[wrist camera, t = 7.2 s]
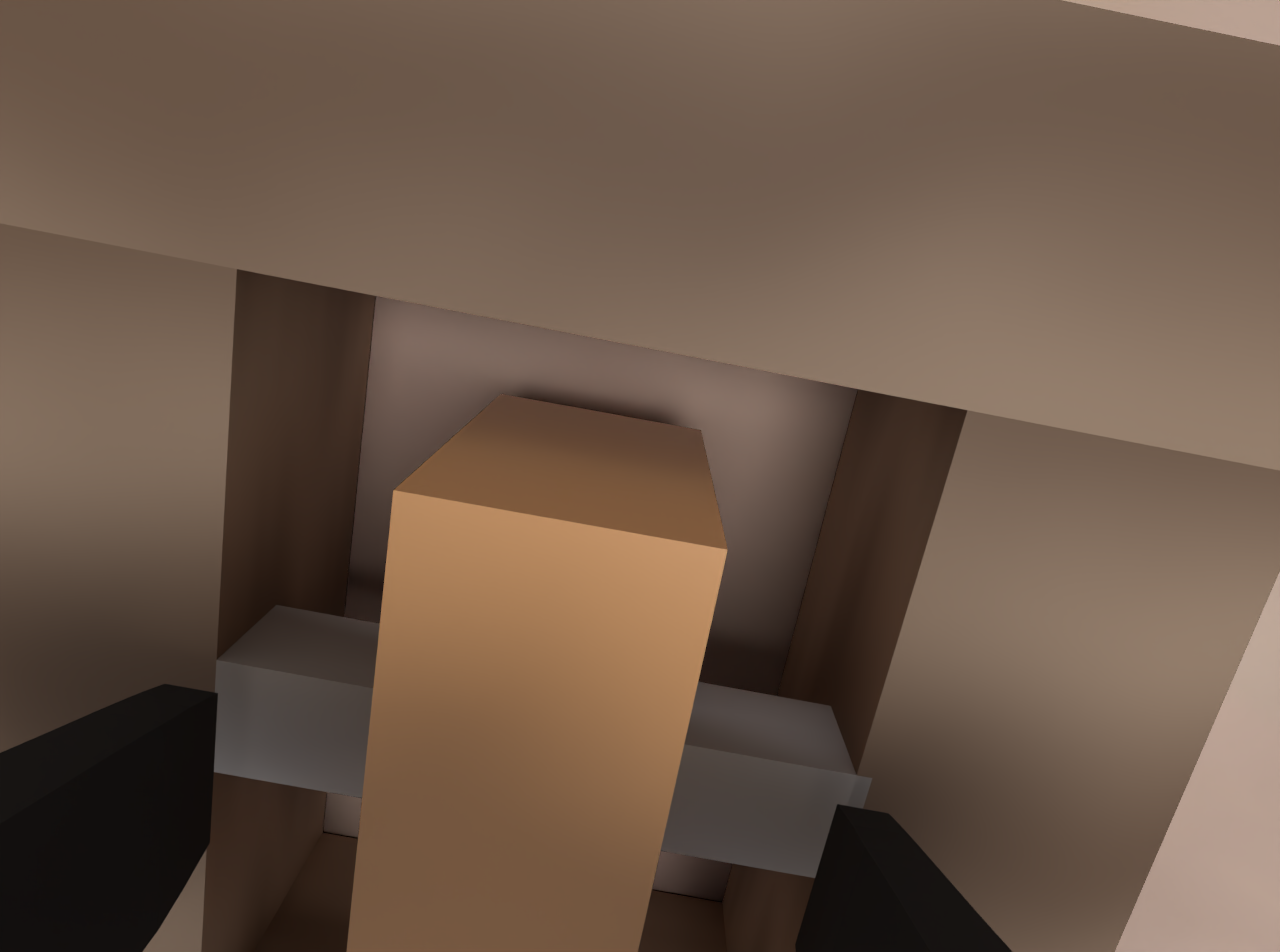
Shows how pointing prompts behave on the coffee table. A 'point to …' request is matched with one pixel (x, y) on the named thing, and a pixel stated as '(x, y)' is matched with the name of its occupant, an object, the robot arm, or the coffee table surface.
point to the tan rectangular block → (534, 682)
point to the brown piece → (676, 323)
